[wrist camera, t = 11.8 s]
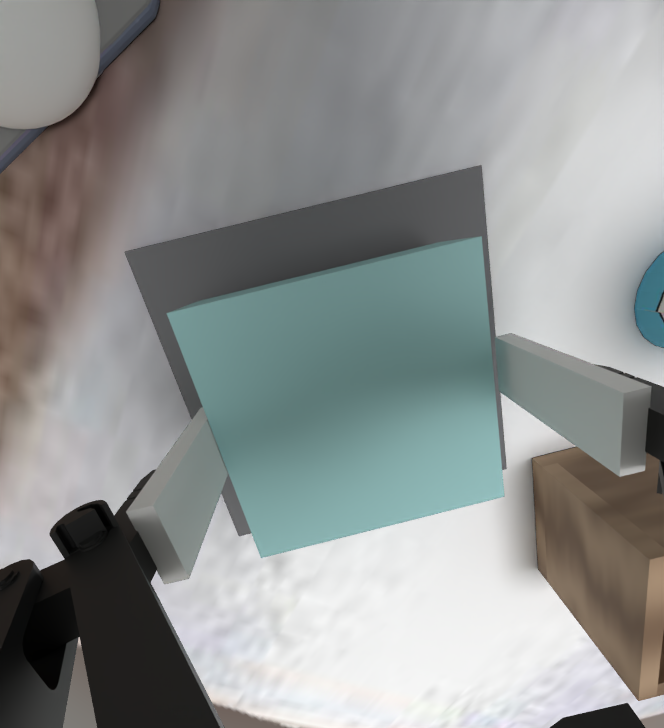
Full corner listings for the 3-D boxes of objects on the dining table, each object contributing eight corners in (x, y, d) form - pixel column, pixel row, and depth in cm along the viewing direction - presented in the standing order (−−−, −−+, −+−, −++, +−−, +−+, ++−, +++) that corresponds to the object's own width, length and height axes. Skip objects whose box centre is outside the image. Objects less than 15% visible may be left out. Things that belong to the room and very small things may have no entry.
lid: (205, 298, 17) (166, 313, 12) (431, 243, 17) (481, 236, 13) (271, 487, 21) (261, 558, 16) (457, 441, 21) (504, 496, 16)
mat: (128, 251, 17) (124, 251, 16) (477, 167, 17) (481, 165, 17) (239, 531, 22) (238, 536, 22) (503, 465, 22) (506, 468, 22)
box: (532, 458, 22) (649, 560, 15) (676, 421, 23) (867, 504, 15) (538, 569, 25) (638, 701, 18) (665, 536, 26) (819, 654, 18)
